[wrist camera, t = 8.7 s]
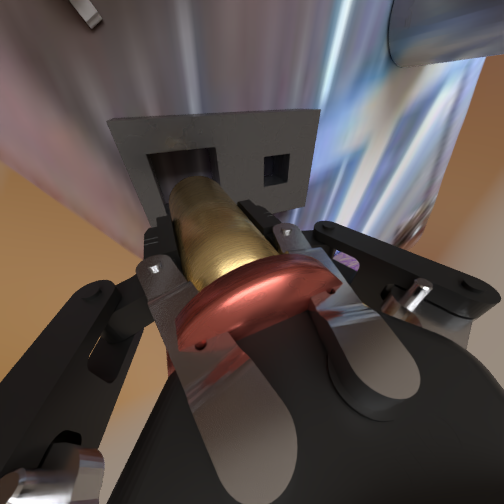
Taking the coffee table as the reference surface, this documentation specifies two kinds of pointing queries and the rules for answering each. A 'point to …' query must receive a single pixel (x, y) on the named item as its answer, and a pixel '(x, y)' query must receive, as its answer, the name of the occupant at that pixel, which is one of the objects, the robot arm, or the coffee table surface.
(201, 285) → the knob
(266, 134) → the panel
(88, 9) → the caliper
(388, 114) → the coffee table surface
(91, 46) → the coffee table surface
